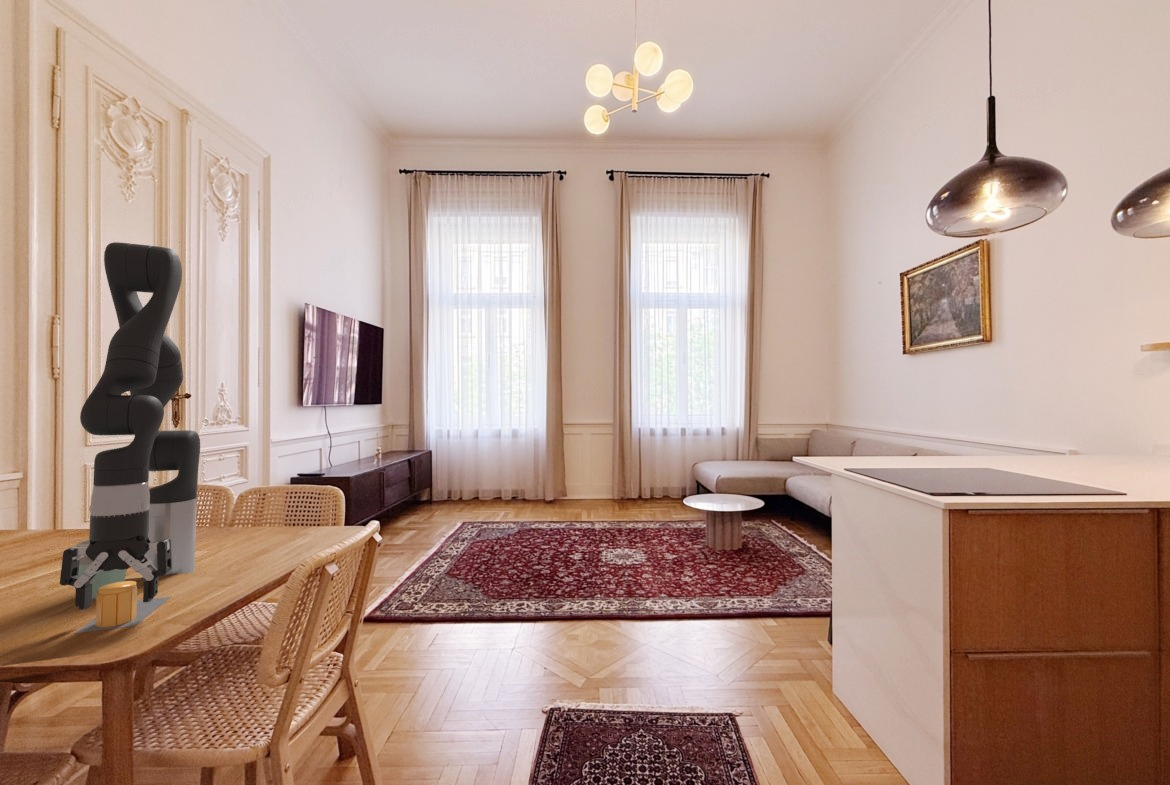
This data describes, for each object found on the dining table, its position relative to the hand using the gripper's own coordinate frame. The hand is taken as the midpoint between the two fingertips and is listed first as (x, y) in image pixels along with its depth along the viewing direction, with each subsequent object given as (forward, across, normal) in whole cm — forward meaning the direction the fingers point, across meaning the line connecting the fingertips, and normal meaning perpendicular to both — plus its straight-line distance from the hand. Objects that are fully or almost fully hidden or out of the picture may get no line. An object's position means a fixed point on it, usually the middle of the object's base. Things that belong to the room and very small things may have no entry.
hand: (117, 604), depth 85 cm
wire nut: (+3, 0, 0) cm, 3 cm away
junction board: (+4, 0, -4) cm, 6 cm away
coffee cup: (+4, +10, -18) cm, 20 cm away
